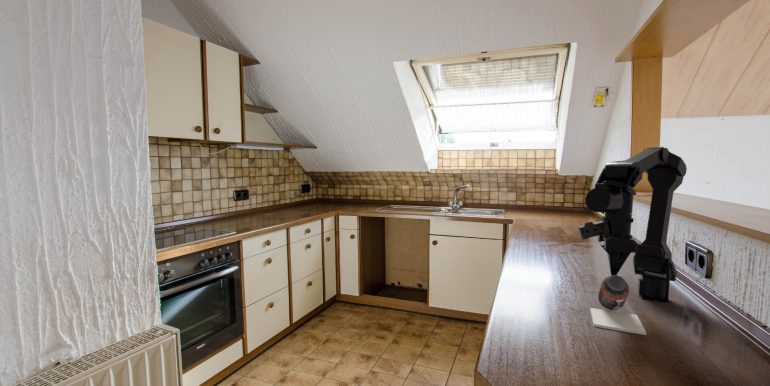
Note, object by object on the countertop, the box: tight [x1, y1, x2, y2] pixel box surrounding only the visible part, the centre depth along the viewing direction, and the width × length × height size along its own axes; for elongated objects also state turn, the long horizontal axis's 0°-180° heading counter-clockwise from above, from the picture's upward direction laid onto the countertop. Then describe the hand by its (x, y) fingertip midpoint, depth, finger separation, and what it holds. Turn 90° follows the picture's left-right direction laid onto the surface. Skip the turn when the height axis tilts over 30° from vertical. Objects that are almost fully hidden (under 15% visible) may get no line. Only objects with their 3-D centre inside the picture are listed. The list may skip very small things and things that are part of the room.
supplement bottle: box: [597, 274, 630, 311], centre depth 92 cm, size 6×6×11 cm
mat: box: [589, 307, 647, 336], centre depth 88 cm, size 10×11×1 cm
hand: (613, 275), depth 92 cm, fingers closed, pressing on supplement bottle
